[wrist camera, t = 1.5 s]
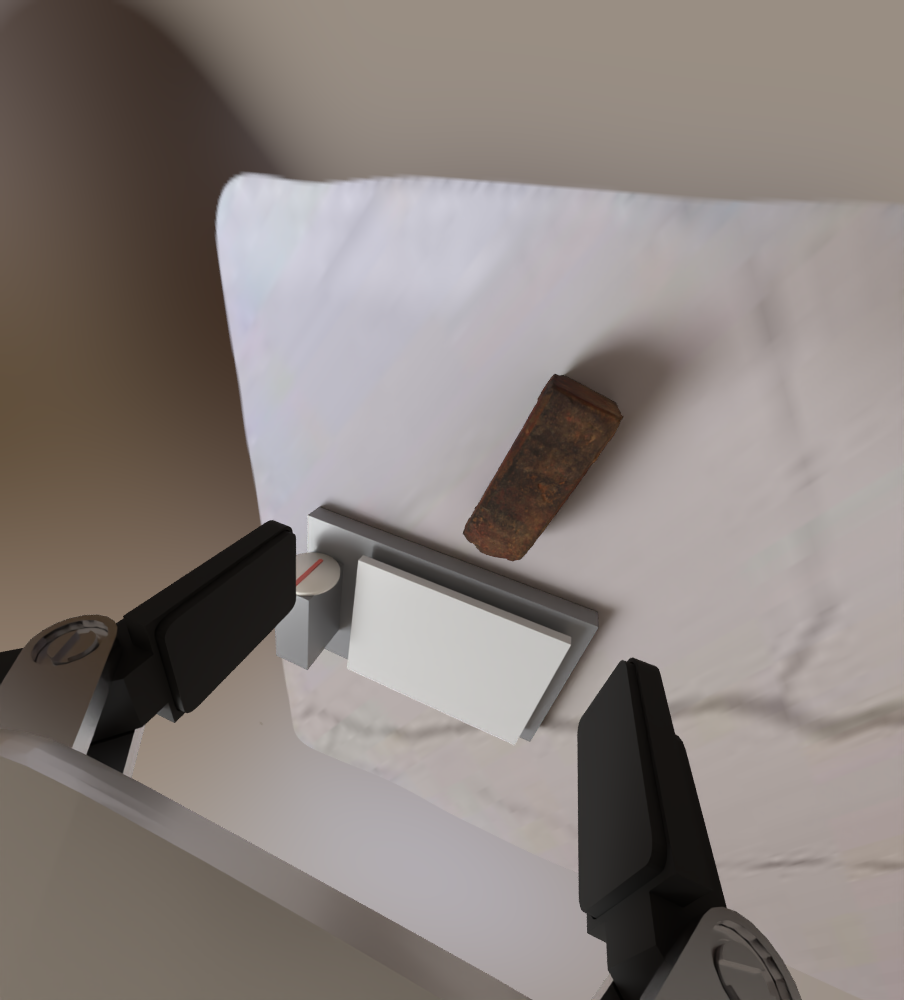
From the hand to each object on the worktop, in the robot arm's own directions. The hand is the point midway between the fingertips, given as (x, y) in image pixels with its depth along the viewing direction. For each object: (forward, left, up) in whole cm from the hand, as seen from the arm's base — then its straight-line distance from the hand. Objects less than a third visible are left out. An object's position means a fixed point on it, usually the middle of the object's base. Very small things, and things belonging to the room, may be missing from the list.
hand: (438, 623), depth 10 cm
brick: (-1, 0, -15) cm, 15 cm away
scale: (+3, +17, -15) cm, 23 cm away
